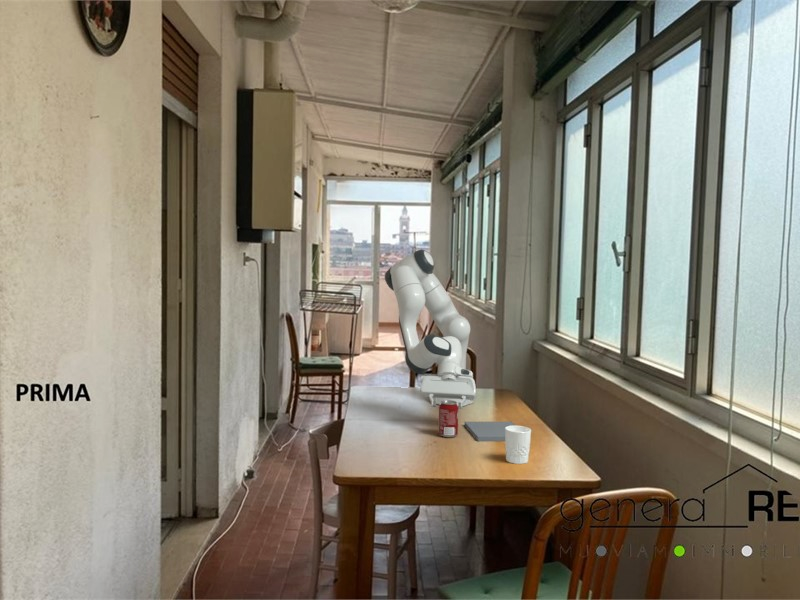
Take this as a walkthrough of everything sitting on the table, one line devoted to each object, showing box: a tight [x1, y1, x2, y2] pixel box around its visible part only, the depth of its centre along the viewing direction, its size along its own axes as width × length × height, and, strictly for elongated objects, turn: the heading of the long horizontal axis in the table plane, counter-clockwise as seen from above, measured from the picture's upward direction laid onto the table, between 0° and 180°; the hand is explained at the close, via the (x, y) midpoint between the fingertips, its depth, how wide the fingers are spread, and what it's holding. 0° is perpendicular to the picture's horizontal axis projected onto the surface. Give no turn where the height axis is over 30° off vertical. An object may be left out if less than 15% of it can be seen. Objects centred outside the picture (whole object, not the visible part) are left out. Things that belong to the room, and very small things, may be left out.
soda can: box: [437, 400, 459, 439], centre depth 214 cm, size 7×7×12 cm
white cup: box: [504, 425, 532, 465], centre depth 188 cm, size 8×8×10 cm
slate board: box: [464, 421, 517, 442], centre depth 219 cm, size 20×18×2 cm
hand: (446, 407), depth 216 cm, fingers open, 8 cm apart
